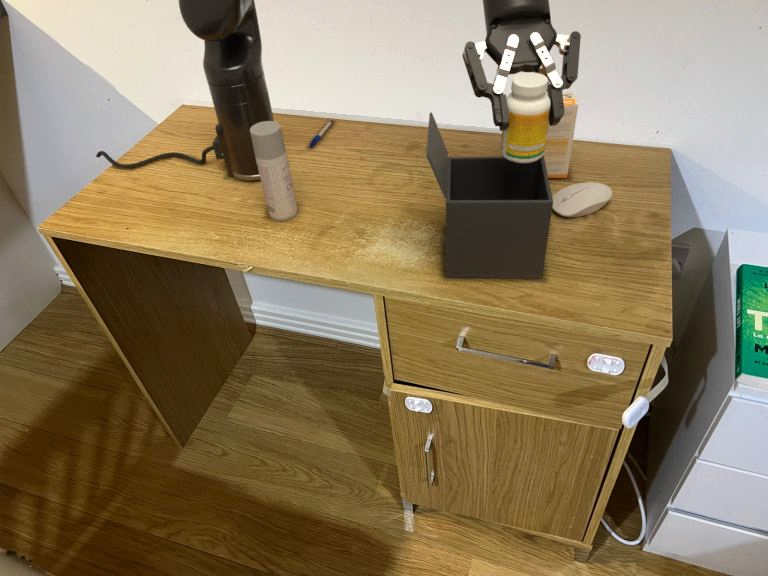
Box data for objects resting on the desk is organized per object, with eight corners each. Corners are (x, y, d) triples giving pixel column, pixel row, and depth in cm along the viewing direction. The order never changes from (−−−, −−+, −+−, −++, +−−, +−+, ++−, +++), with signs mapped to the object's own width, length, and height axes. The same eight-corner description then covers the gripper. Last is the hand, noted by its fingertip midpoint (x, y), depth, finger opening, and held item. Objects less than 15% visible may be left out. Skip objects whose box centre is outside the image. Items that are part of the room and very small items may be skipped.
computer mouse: (541, 204, 93) (543, 187, 91) (594, 187, 95) (597, 171, 93) (563, 223, 89) (566, 207, 87) (618, 206, 91) (622, 190, 89)
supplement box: (563, 164, 101) (575, 90, 92) (567, 179, 98) (579, 104, 89) (514, 164, 102) (521, 91, 93) (516, 179, 99) (523, 105, 90)
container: (298, 218, 94) (281, 133, 84) (269, 223, 94) (248, 137, 84) (297, 202, 98) (280, 118, 88) (269, 206, 98) (249, 122, 87)
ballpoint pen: (313, 148, 111) (312, 143, 110) (309, 148, 111) (308, 143, 111) (333, 122, 118) (332, 118, 118) (329, 122, 119) (328, 117, 118)
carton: (445, 277, 82) (445, 202, 73) (446, 230, 90) (447, 156, 81) (541, 279, 80) (553, 202, 72) (534, 230, 88) (544, 155, 80)
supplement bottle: (493, 148, 75) (497, 75, 69) (530, 139, 76) (538, 65, 70) (514, 168, 72) (520, 92, 65) (552, 158, 73) (563, 82, 66)
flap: (446, 197, 73) (444, 198, 73) (448, 152, 81) (446, 153, 81) (428, 154, 69) (426, 155, 69) (431, 112, 77) (429, 113, 77)
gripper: (457, -26, 66) (474, 122, 66) (584, -38, 67) (602, 109, 66) (449, 9, 74) (464, 142, 73) (563, -2, 74) (579, 130, 73)
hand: (530, 125), depth 69 cm, fingers closed on supplement bottle, 5 cm apart
